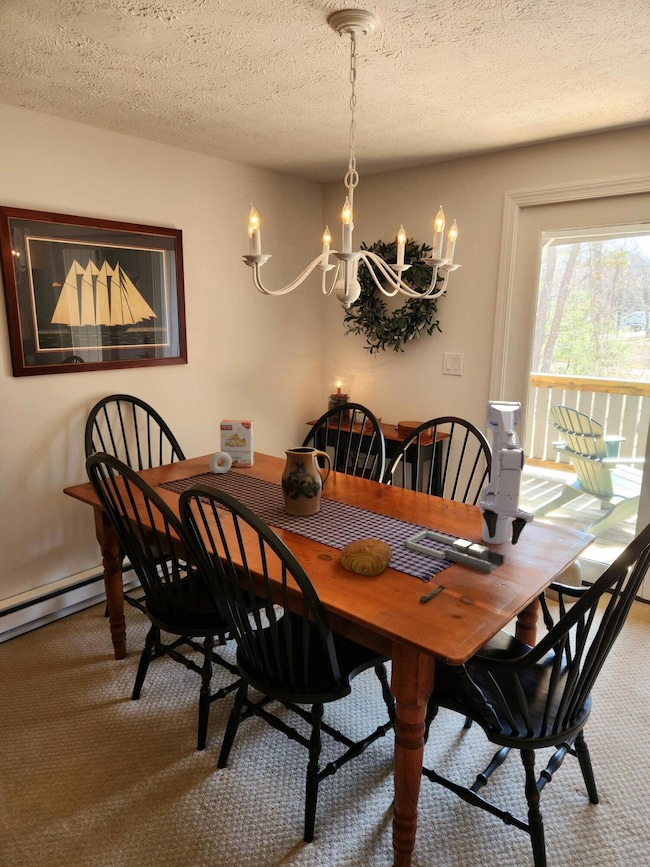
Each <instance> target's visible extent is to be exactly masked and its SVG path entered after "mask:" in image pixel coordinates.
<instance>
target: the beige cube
mask: <svg viewBox="0 0 650 867" xmlns="http://www.w3.org/2000/svg"><path fill="white" fill-rule="evenodd" d="M456 540H457V541H455V542H454V543H453V545H452V549H451V550H454V551H457V552H460V553H463V554H466V555H468V549H469V547H471V546H472V544H473V542H471V541H467V540H464V539H462V538H459V539H456Z"/></svg>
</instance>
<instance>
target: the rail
mask: <svg viewBox="0 0 650 867" xmlns="http://www.w3.org/2000/svg"><path fill="white" fill-rule="evenodd" d="M473 545H474V543H472V546H473ZM444 559H447V560H450V561H454V562H457V563H460V564H462V565H465V566H468V567H471V568H473V569H476V570H480V571H483V572H484V573H488V574H491V573H492V572H493V571H495V570H496V569H498V568H499V567H500V566H502V565H503V564H505V562H506V561H505V560H506V553H503V552H500V551H499V552H498V551H496V550H492V549H489V548H488V559H487V561H484V560H481V559H478V558H475V557H472V556H469V555H466V554H463V553H460V552H457V551H454V550H452V549H450V548H444Z"/></svg>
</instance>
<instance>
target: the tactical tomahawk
mask: <svg viewBox="0 0 650 867" xmlns="http://www.w3.org/2000/svg"><path fill="white" fill-rule="evenodd" d="M445 589H446V587H445V586H443V585H439V586H438V587H436V588H434V589H433V590H432V591H431V592H430V593H429V594H427V595H422V596H420V598H419V600H420V602H422V603H423V602H426V601H428V600H433V599H434V597H436V596H437V595H439V594H440V593H441V592H443V590H445Z"/></svg>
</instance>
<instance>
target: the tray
mask: <svg viewBox="0 0 650 867" xmlns="http://www.w3.org/2000/svg"><path fill="white" fill-rule="evenodd" d="M426 538H429V539H433V540H436V541H439V542H441V543H444V544H448V545H452V546H453V543H454V542H455V541H457V540H458V539H455V538H452V537H449V536H446V535H442V534H439V533H436V532H432V531H430V530H424V531H421V533H418V534H416V535H414V536H411V537H410V538H408V539H406V540H404V544H403V546H404V547H406V548H409V549H412V550H415V551H417V552H420V553H424V554H425V555H429V556H431V557H435V558H438V559H440V560H443V559H445V552H442V551H439V550H436V549H433V548H431V547H429V546H424V545H422V544H419V543H417V542H419V541H422V540H424V539H426Z"/></svg>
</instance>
